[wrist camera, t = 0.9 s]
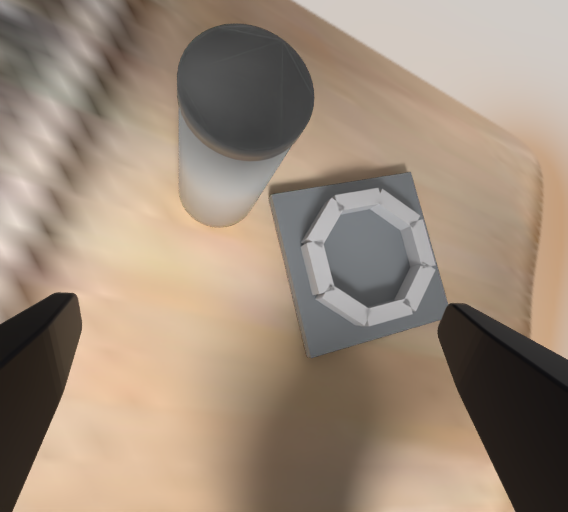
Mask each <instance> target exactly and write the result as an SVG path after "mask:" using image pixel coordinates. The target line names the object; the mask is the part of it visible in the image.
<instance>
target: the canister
mask: <svg viewBox="0 0 568 512" xmlns="http://www.w3.org/2000/svg"><path fill="white" fill-rule="evenodd" d="M177 98H178V104H179V197H180V200H181V203H182V205H183V207H184V208H185V210H186V211H187V212H188V214H189V215H190V216H191V217H192V218H194V219H195V220H196V221H198V222H200V223H202V224H204V225H207V226H211V227H227V226H231V225H234V224H236V223H238V222H240V221H241V220H242V219H244V218H245V217H246V216H247V214H248V213H249V212H250V210H251V209H252V207H253V206H254V204H255V202H256V201H257V199H258V198H259V196H260V195H261V193H262V192H263V190H264V188H265V187H266V185H267V184H268V182H269V181H270V179H271V177H272V176H273V174H274V173H275V171H276V170H277V168H278V167H279V165H280V163H281V162H282V160H283V159H284V157H285V156H286V154H287V152H288V151H289V149H290V148H291V146H292V145H293V144H294V143H295V142H296V140H297V139H298V138H299V136H300V135H301V133H302V132H303V130H304V129H305V127H306V125H307V123H308V122H309V120H310V117H311V114H312V111H313V106H314V88H313V83H312V79H311V76H310V73H309V71H308V69H307V67H306V65H305V64H304V62H303V60H302V59H301V57H300V56H299V55H298V54H297V52H296V51H295V50H294V49H293V48H292V47H291V46H290V45H289V44H288V43H286V42H285V41H284V40H283V39H281V38H280V37H278V36H277V35H275V34H273V33H271V32H269V31H267V30H265V29H262V28H259V27H256V26H252V25H246V24H224V25H220V26H216V27H213V28H210V29H208V30H206V31H204V32H203V33H201V34H200V35H198V36H197V37H196V38H194V39H193V40H192V42H191V43H190V44H189V45H188V46H187V48H186V49H185V51H184V53H183V55H182V57H181V59H180V62H179V66H178V72H177Z"/></svg>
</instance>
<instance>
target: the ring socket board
mask: <svg viewBox="0 0 568 512" xmlns="http://www.w3.org/2000/svg"><path fill="white" fill-rule="evenodd" d="M269 202H270V206H271V211H272V215H273V219H274V223H275V227H276V231H277V235H278V240H279V244H280V248H281V252H282V256H283V260H284V264H285V268H286V273H287V277H288V281H289V285H290V289H291V293H292V297H293V302H294V306H295V310H296V314H297V318H298V322H299V326H300V331H301V335H302V339H303V343H304V347H305V351H306V355H307V357H309V358H313V357H317V356H320V355H323V354H327V353H330V352H334V351H337V350H340V349H344V348H347V347H351V346H354V345H357V344H361V343H364V342H367V341H371V340H374V339H378V338H381V337H384V336H388V335H391V334H394V333H398V332H401V331H405V330H408V329H411V328H415V327H418V326H422V325H425V324H428V323H432V322H435V321H438V320H441V319H442V316H443V314H444V311H445V309H446V307H447V305H448V302H447V299H446V295H445V292H444V288H443V284H442V281H441V277H440V274H439V270H438V267H437V263H436V260H435V256H434V253H433V249H432V245H431V242H430V238H429V235H428V231H427V228H426V224H425V221H424V217H423V214H422V210H421V206H420V203H419V199H418V196H417V192H416V189H415V185H414V182H413V178H412V175H411V172H408V173H402V174H395V175H389V176H383V177H377V178H371V179H364V180H358V181H352V182H346V183H339V184H333V185H327V186H321V187H315V188H308V189H302V190H296V191H290V192H283V193H277V194H271V196H270V197H269Z"/></svg>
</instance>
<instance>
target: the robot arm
mask: <svg viewBox="0 0 568 512" xmlns="http://www.w3.org/2000/svg"><path fill="white" fill-rule="evenodd" d="M81 331H82V319H81V313H80V307H79V302H78V297H77V295H76V294H74V293H60V292H58V293H54V294H52V295H50V296H48V297H47V298H45V299H43V300H41V301H40V302H38V303H36V304H35V305H33V306H31V307H29V308H28V309H26V310H24V311H22V312H21V313H19V314H17V315H15V316H14V317H12V318H10V319H8V320H7V321H5V322H3V323H2V324H0V512H12V511H13V509H14V507H15V504H16V502H17V500H18V497H19V495H20V493H21V490H22V488H23V486H24V483H25V481H26V479H27V476H28V474H29V472H30V469H31V467H32V465H33V462H34V460H35V458H36V456H37V453H38V451H39V449H40V446H41V444H42V442H43V439H44V437H45V435H46V432H47V430H48V428H49V425H50V423H51V421H52V418H53V416H54V414H55V411H56V409H57V407H58V405H59V402H60V400H61V397H62V395H63V392H64V389H65V386H66V383H67V379H68V376H69V372H70V369H71V365H72V362H73V359H74V355H75V352H76V348H77V345H78V342H79V338H80V335H81ZM438 338H439V341H440V344H441V346H442V349H443V352H444V355H445V358H446V360H447V363H448V366H449V369H450V372H451V374H452V377H453V380H454V382H455V385H456V388H457V390H458V392H459V394H460V397H461V399H462V401H463V403H464V405H465V407H466V409H467V411H468V413H469V415H470V418H471V420H472V422H473V424H474V426H475V428H476V430H477V432H478V434H479V436H480V439H481V441H482V443H483V445H484V447H485V449H486V451H487V453H488V455H489V457H490V459H491V462H492V464H493V466H494V468H495V470H496V472H497V474H498V476H499V478H500V480H501V482H502V485H503V487H504V489H505V491H506V493H507V495H508V497H509V499H510V501H511V503H512V505H513V508H514V510H515V512H568V360H567V359H566V358H564V357H562V356H560V355H558V354H556V353H555V352H553V351H551V350H549V349H547V348H545V347H544V346H542V345H540V344H538V343H536V342H535V341H533V340H531V339H529V338H527V337H525V336H524V335H522V334H520V333H518V332H516V331H514V330H513V329H511V328H509V327H507V326H505V325H504V324H502V323H500V322H498V321H496V320H494V319H493V318H491V317H489V316H487V315H485V314H483V313H482V312H480V311H478V310H476V309H474V308H472V307H471V306H469V305H467V304H464V303H450V304H448V305H447V307H446V309H445V311H444V314H443V316H442V319H441V321H440V324H439V326H438Z"/></svg>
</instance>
